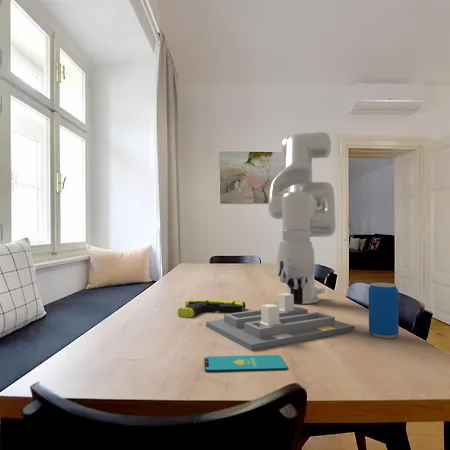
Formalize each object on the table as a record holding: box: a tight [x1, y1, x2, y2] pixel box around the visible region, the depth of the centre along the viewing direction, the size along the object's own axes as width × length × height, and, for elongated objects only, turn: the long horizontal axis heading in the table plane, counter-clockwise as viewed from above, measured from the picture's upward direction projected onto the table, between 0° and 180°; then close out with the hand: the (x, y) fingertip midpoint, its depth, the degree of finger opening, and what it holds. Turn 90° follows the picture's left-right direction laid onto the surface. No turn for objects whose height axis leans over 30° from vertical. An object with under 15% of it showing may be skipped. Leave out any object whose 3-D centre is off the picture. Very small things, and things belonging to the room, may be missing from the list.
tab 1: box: [259, 303, 281, 327], centre depth 87 cm, size 4×3×6 cm
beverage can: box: [368, 282, 400, 339], centre depth 88 cm, size 6×6×12 cm
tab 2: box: [277, 292, 295, 312], centre depth 102 cm, size 4×3×6 cm
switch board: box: [205, 305, 355, 351], centre depth 95 cm, size 30×22×3 cm
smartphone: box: [203, 354, 288, 373], centre depth 70 cm, size 7×1×15 cm
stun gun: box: [177, 299, 246, 318], centre depth 113 cm, size 3×19×15 cm
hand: (296, 302), depth 103 cm, fingers closed
